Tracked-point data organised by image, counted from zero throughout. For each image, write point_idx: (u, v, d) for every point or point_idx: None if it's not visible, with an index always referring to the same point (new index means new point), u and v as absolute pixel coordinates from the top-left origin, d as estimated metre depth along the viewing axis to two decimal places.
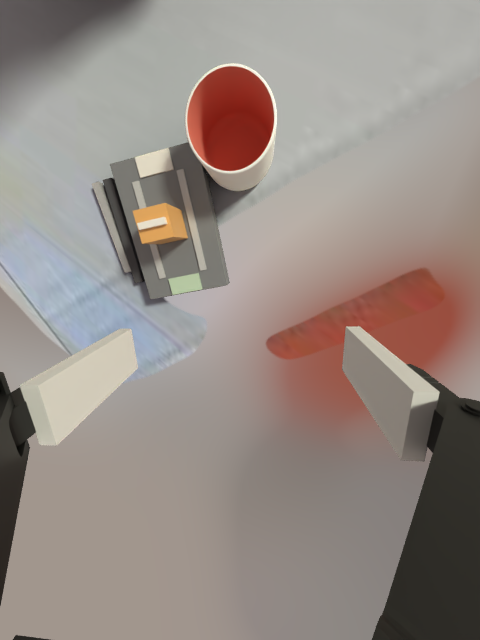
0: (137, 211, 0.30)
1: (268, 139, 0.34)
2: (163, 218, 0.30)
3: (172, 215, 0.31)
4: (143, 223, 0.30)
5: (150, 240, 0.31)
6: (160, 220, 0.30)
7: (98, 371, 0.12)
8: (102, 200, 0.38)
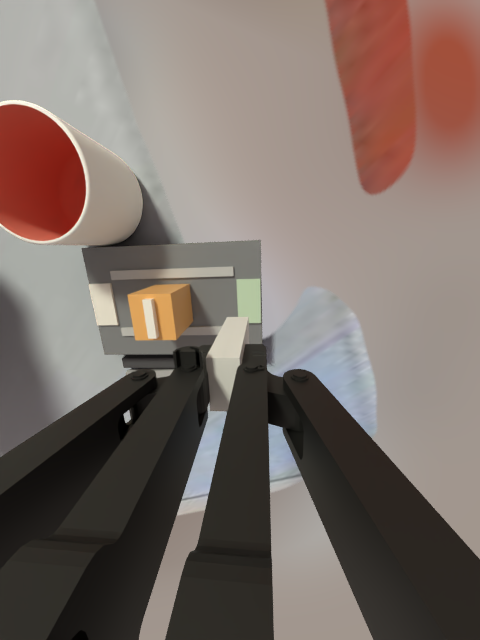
0: (136, 334, 0.23)
1: None
2: (144, 301, 0.21)
3: (148, 291, 0.23)
4: (149, 330, 0.22)
5: (173, 327, 0.22)
6: (146, 306, 0.21)
7: None
8: None
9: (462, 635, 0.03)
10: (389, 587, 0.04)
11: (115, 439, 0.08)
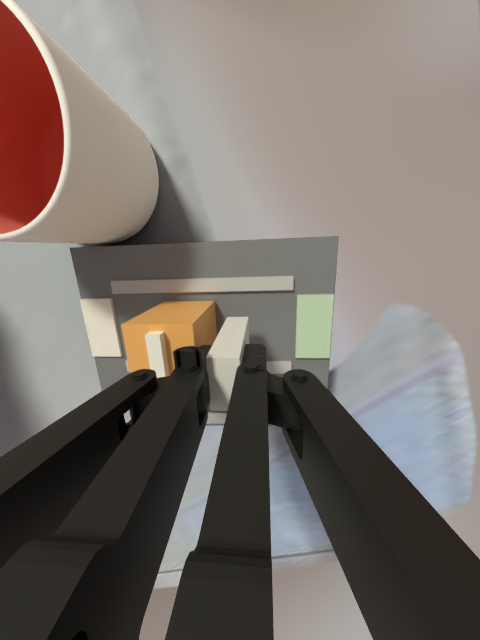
0: None
1: None
2: (148, 337, 0.13)
3: (155, 317, 0.14)
4: None
5: None
6: (152, 345, 0.13)
7: None
8: None
9: (462, 635, 0.03)
10: (389, 587, 0.04)
11: (116, 438, 0.08)
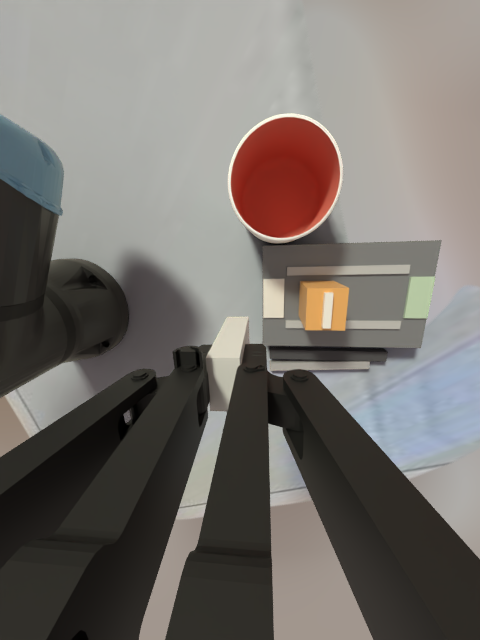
0: (307, 324, 0.25)
1: (274, 160, 0.29)
2: (326, 294, 0.24)
3: (318, 286, 0.25)
4: (325, 320, 0.24)
5: (344, 319, 0.25)
6: (328, 298, 0.24)
7: None
8: (287, 365, 0.36)
9: (462, 635, 0.03)
10: (389, 587, 0.04)
11: (115, 439, 0.08)
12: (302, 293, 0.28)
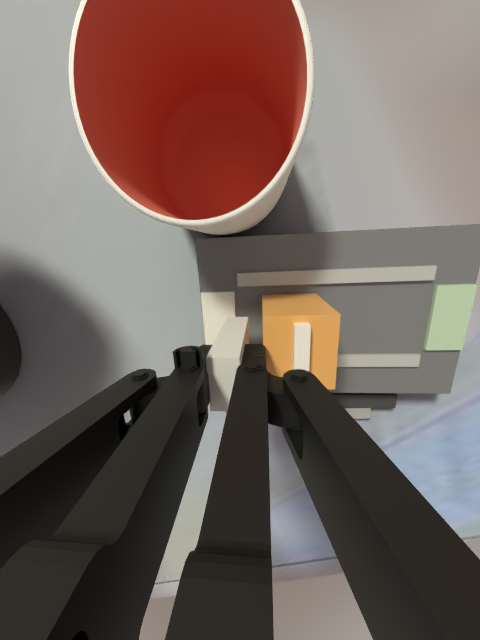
0: None
1: (208, 94, 0.17)
2: (298, 328, 0.12)
3: (285, 309, 0.14)
4: None
5: (333, 369, 0.13)
6: (301, 336, 0.12)
7: None
8: None
9: (462, 635, 0.03)
10: (389, 587, 0.04)
11: (116, 438, 0.08)
12: None
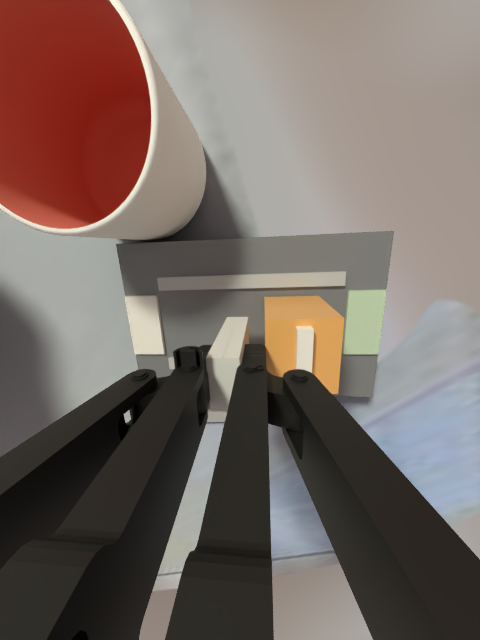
0: None
1: (126, 104, 0.18)
2: (300, 332, 0.12)
3: (288, 312, 0.14)
4: None
5: (336, 374, 0.13)
6: (304, 340, 0.12)
7: None
8: None
9: (462, 635, 0.03)
10: (389, 587, 0.04)
11: (116, 439, 0.08)
12: None
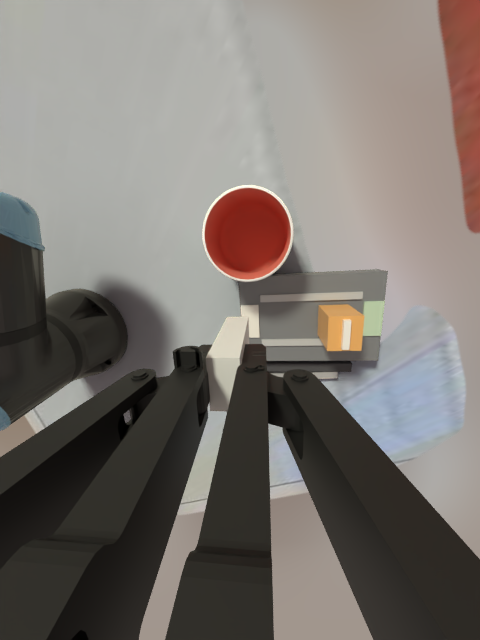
0: (329, 346, 0.30)
1: (246, 205, 0.34)
2: (345, 321, 0.28)
3: (337, 313, 0.30)
4: (344, 343, 0.29)
5: (360, 341, 0.29)
6: (347, 325, 0.28)
7: None
8: None
9: (462, 635, 0.03)
10: (389, 587, 0.04)
11: (115, 438, 0.08)
12: (322, 317, 0.32)
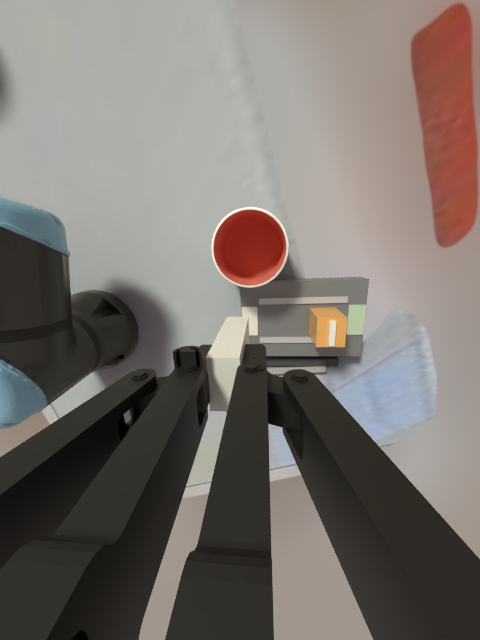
0: (317, 343, 0.35)
1: (247, 219, 0.39)
2: (331, 322, 0.33)
3: (325, 315, 0.35)
4: (330, 340, 0.34)
5: (344, 339, 0.34)
6: (332, 325, 0.33)
7: None
8: None
9: (462, 635, 0.03)
10: (389, 587, 0.04)
11: (116, 438, 0.08)
12: (312, 318, 0.37)
